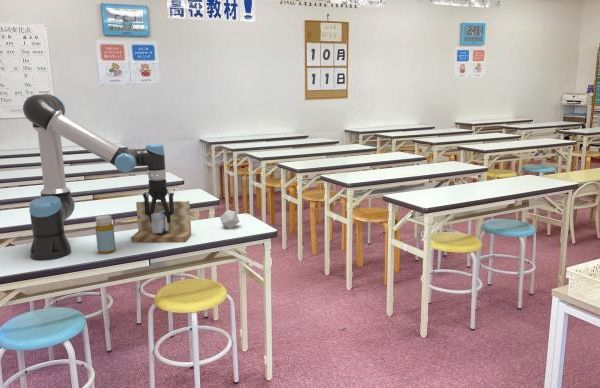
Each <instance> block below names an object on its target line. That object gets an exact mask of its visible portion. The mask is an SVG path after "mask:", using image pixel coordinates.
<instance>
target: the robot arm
mask: <svg viewBox="0 0 600 388" xmlns="http://www.w3.org/2000/svg"><path fill="white" fill-rule="evenodd" d="M22 112H23V115H24V117H25V118H26V119H27V120H28V121H30V122H31V123H32V128H33V129H34V130H35V131H36V132H37V138H38V139H37V140H38V146H39V155H40V156H39V157H40V165H41V172H42V173H41V174H42V183H43V189H42V190H40V197H36V198H34V199H32V200H31V201H30V203H29V210H28V211H29V215H30V221H31V222H30V223H31V224H30V225H31V229H32V230H31V231H32V238H33V239H32V241H31V242H32V243H31V248H30V250H29V251H30V252H29V253H30V258H31V259H32V260H37V261H49V260H55V259H60V258H63V257H66V256H68V255H69V254H71V253H72V247H71V244H70V242H69V240H68V238H67V236H66V234H65V225H64V221H66V220H67V219H69V218H70V216H72V214H73V213H74V210H75V207H76V206H75V205H76V204H75V200H74V198H73V196H71V195H72V194H71V189H70V188H69V187H67V184H66V172H65V163H64V155H63V154H64V153H63V146H62V145H63V144H62V137H63V138H64V139H66V140H68V141H70V142H71V143H74V144H76V145H77V146H79V147H81V148H82V149H84V150H86V151H88V152H90V153H91V154H93V155H96V157H99V158H100V159H102V160H104V161H106V162H107V163H109V164H111V165H112V166H114V167H115V168H116V169H117V170H118V171H119V172H120V173H128V172H129V173H130V172H132V171H133V170H134V169H135V168H136V167H147V176H148V177H147V178H148V191H147V192H144V193H142V197H143V202H144V204H145V215H148V216H150V223H152V219H151V214H153V213H154V210H155V204H156V201H161V202H162V204H163V207H164V210H165V213H166V216H165V228H166V231H168V230H169V223H170V221H171V220H170V215H173V214H174V203H173V201H174V195H175V192H173V191H169V190H168V187H167V186H168V185H167V179H166V178H167V173H166V159H165V158H166V157H165V156H166V155H165V149H164V145H163V144H162V143H148V144H145V148H139V149H138V148H137V149H136V148H134V149H133V148H132V149H129V148H128V149H127V148H126V149H124V148H122V147H120V146H118V145H117V144H115V143H113V142H112V141H110V140H108V139H106V138H104V137H102V136H101V135H99V134H97V133H96V132H95V131H92V130H91V129H89V128H87V127H85V126H84V125H82V124H80V123H78V122H76V121H75V120H73V119H71V118H70V117H68V116H66V115H65V114H66V106H65V104H64V102H63V101H62V100H61V99H60V98H59V97H57V96H55V95H53V94H49V93H43V94H33V95H31V96H29V97H28V98H26V99H25V101H24V102H23V105H22ZM149 196H150V197H151V201H152V203H151V209H150V212H149V201H150V200H149V199H150V198H149ZM166 196H167V197H168V201H169V206H170V211H169V208H168V205H167V202H166V201H167V198H166Z"/></svg>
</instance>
